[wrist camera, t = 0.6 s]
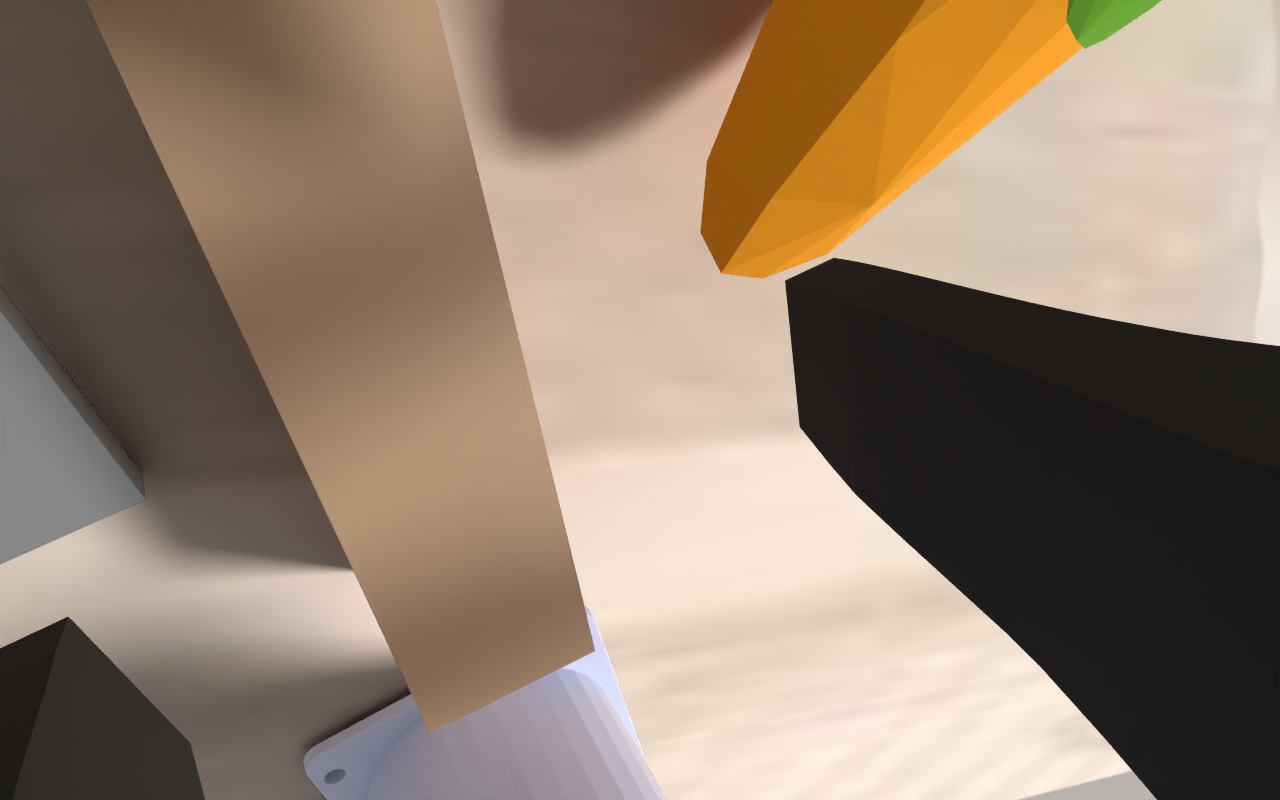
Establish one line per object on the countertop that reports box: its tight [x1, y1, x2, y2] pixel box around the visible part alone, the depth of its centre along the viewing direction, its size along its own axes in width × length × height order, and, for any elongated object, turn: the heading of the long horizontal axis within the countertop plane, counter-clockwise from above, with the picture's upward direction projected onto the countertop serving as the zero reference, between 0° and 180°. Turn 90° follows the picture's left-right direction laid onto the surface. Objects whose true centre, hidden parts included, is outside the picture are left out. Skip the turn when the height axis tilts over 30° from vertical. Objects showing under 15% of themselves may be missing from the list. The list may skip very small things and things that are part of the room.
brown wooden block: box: [85, 0, 595, 733], centre depth 14 cm, size 18×4×5 cm, turn 7°
